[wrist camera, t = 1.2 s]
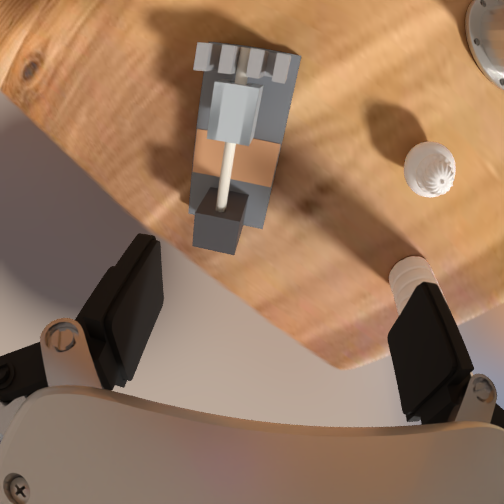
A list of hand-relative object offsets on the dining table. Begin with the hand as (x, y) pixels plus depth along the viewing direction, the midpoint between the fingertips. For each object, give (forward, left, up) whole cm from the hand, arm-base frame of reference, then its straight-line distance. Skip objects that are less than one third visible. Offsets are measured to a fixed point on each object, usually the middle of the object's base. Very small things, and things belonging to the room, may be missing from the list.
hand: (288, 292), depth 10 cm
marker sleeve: (-2, -5, -20) cm, 21 cm away
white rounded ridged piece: (-1, +15, -25) cm, 29 cm away
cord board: (+2, -5, -24) cm, 25 cm away
